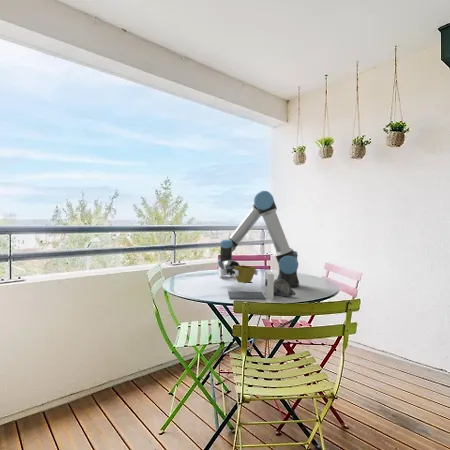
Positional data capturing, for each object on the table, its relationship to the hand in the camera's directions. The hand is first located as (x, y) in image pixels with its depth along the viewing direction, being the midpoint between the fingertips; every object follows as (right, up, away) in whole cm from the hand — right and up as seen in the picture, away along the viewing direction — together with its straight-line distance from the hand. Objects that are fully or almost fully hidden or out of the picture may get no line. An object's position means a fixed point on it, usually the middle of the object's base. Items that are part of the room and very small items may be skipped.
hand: (247, 273), depth 186 cm
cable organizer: (-12, -11, +59) cm, 61 cm away
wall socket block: (+12, -14, +5) cm, 19 cm away
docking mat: (-1, -14, +4) cm, 14 cm away
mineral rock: (+21, -14, +7) cm, 26 cm away
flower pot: (-2, -6, +4) cm, 7 cm away
